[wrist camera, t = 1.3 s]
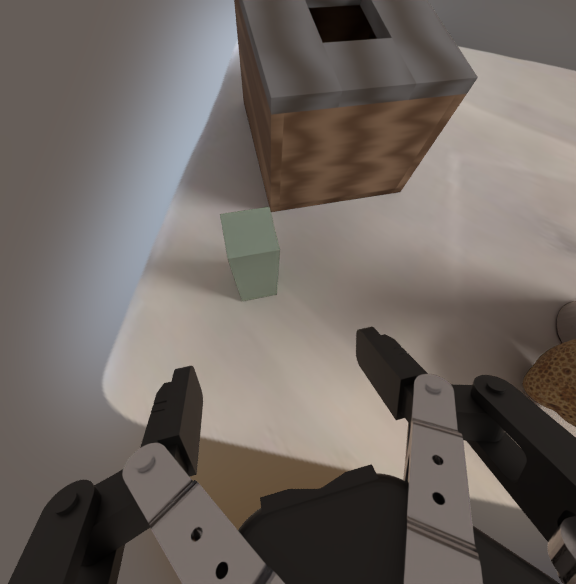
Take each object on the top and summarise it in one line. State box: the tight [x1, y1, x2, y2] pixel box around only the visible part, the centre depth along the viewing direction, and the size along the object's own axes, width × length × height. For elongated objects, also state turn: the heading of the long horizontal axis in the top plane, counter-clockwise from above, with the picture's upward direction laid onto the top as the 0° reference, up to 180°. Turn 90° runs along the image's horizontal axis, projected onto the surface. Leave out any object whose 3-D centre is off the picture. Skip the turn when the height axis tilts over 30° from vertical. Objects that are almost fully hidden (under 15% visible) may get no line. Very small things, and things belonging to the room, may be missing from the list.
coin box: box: [234, 0, 478, 212], centre depth 35 cm, size 20×22×16 cm
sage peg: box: [220, 207, 280, 301], centre depth 29 cm, size 4×4×12 cm
